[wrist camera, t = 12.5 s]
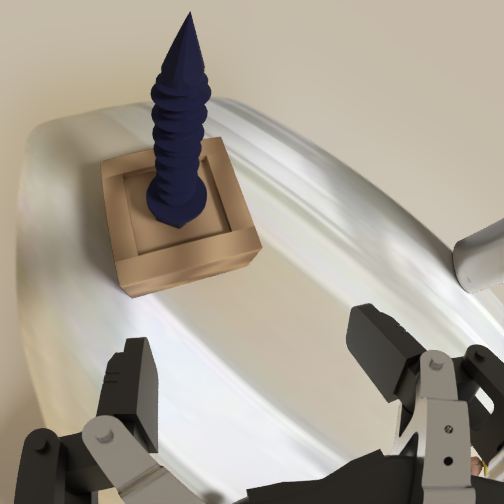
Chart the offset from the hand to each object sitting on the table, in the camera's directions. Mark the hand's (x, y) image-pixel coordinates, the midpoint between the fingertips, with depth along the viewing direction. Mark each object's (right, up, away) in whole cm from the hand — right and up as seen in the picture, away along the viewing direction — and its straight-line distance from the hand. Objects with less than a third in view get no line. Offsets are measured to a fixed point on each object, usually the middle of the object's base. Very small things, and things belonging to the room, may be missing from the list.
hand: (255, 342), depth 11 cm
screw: (-7, +7, +14) cm, 17 cm away
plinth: (-8, +6, +19) cm, 21 cm away
